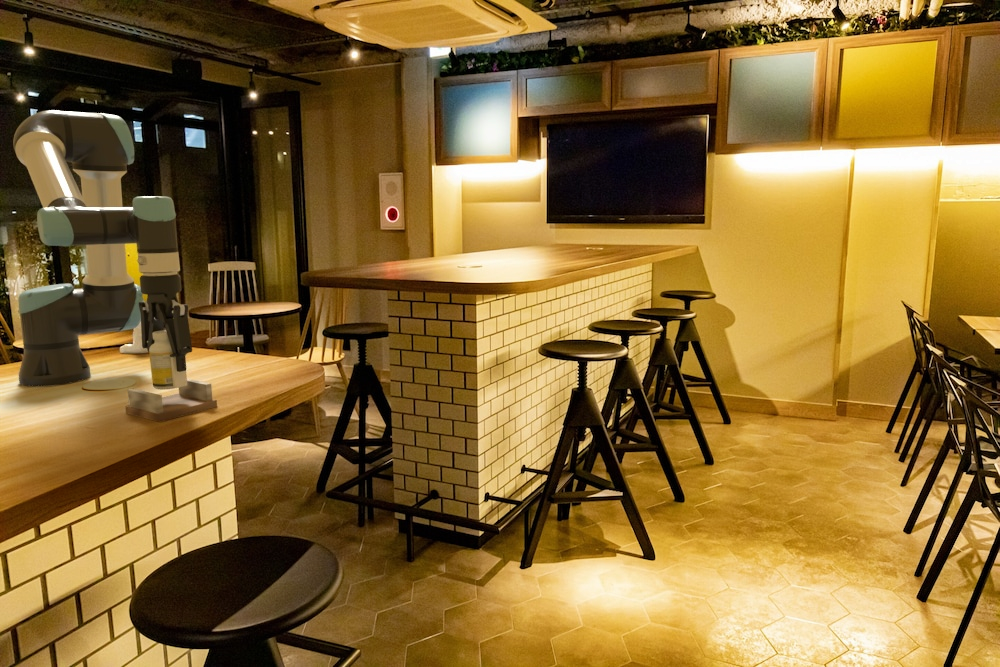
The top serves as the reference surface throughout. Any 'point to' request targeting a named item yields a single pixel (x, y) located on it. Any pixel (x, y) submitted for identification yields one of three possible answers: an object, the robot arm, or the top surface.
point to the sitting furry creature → (135, 343)
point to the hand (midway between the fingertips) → (170, 384)
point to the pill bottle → (161, 361)
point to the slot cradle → (171, 402)
